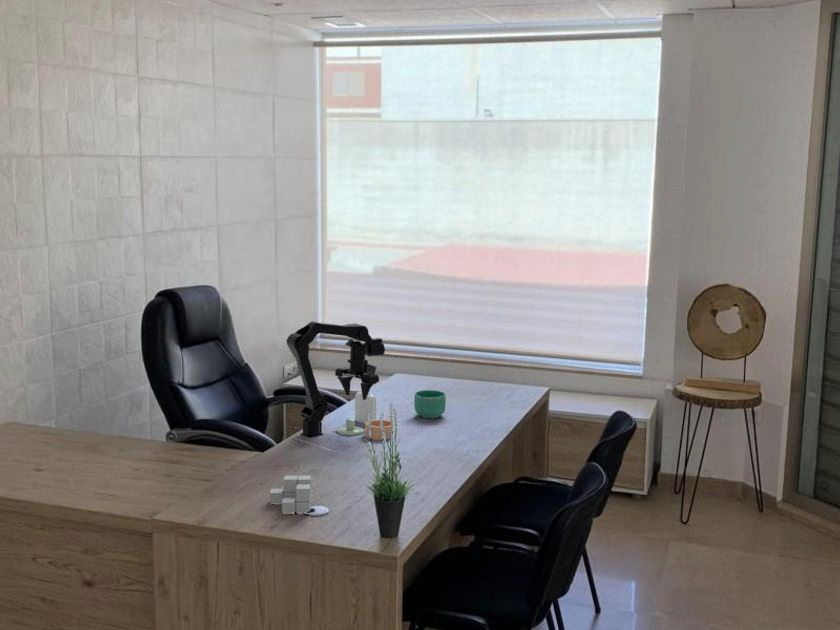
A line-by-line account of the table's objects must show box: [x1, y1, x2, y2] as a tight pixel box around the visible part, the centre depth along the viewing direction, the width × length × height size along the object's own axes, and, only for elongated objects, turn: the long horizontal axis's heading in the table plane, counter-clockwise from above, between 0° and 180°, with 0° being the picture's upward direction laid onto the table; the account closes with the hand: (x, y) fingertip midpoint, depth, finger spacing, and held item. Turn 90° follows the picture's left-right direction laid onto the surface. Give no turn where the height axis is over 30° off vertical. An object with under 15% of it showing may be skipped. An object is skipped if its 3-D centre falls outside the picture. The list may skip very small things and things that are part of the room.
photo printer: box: [354, 391, 377, 425], centre depth 371 cm, size 10×4×12 cm, turn 39°
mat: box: [331, 429, 365, 438], centre depth 358 cm, size 10×10×1 cm
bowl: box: [364, 419, 397, 441], centre depth 353 cm, size 11×11×5 cm
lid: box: [336, 417, 365, 436], centre depth 357 cm, size 10×10×5 cm
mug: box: [413, 389, 447, 420], centre depth 385 cm, size 17×13×10 cm
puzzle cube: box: [269, 475, 312, 514], centre depth 277 cm, size 12×12×8 cm
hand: (356, 397), depth 361 cm, fingers open, 9 cm apart
